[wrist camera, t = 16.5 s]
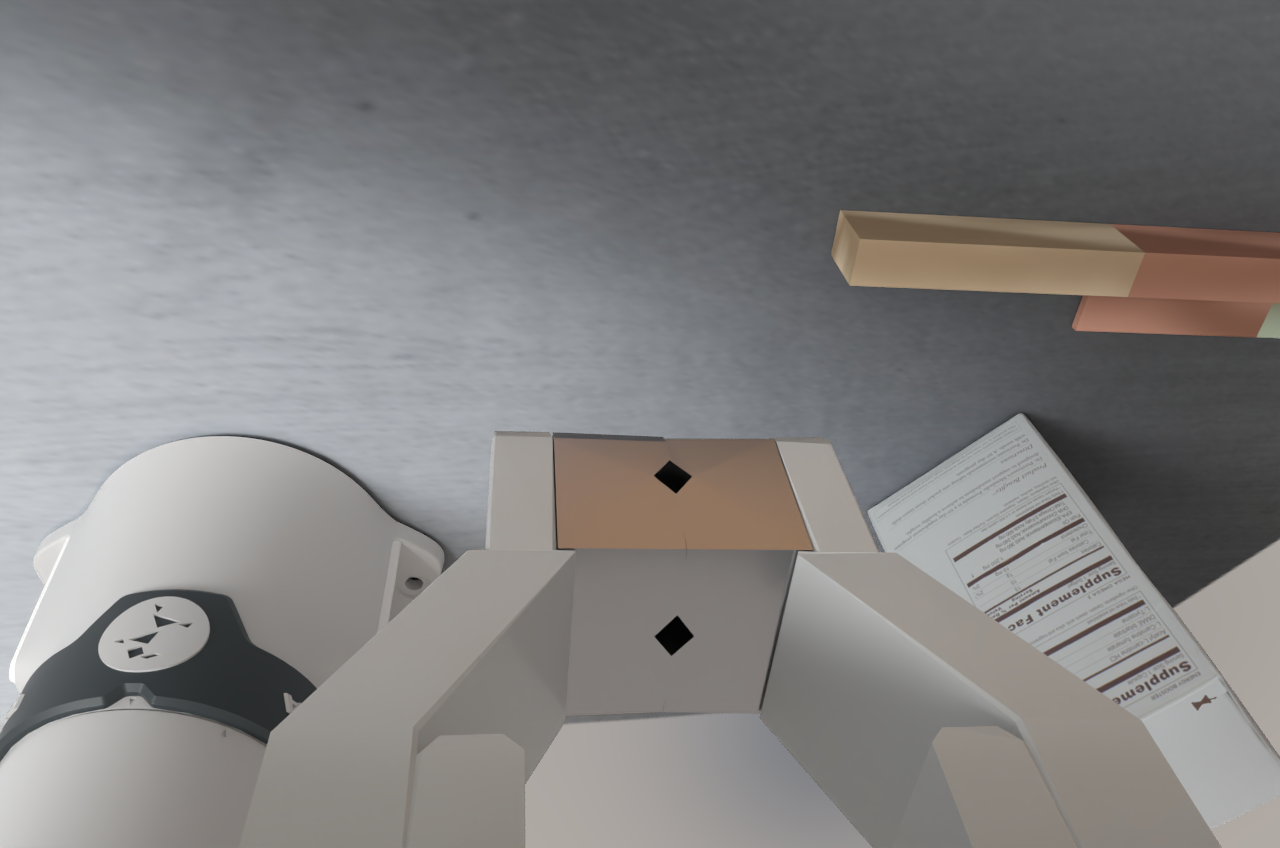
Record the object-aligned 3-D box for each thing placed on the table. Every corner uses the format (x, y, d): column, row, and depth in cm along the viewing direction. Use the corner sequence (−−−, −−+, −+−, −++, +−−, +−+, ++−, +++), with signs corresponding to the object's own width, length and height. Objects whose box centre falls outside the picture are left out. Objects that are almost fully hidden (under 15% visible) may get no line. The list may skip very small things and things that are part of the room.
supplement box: (860, 509, 51) (986, 795, 37) (1020, 405, 48) (1222, 671, 34) (951, 606, 55) (1094, 893, 41) (1102, 517, 52) (1309, 792, 38)
